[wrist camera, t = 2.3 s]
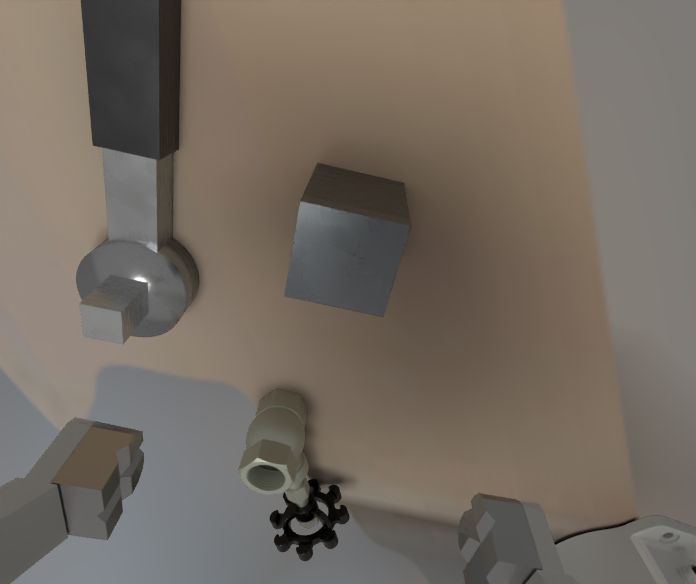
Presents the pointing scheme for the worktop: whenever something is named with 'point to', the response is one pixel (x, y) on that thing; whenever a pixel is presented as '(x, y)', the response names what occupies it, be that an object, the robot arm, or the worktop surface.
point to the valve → (288, 473)
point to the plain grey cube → (348, 240)
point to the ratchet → (135, 171)
